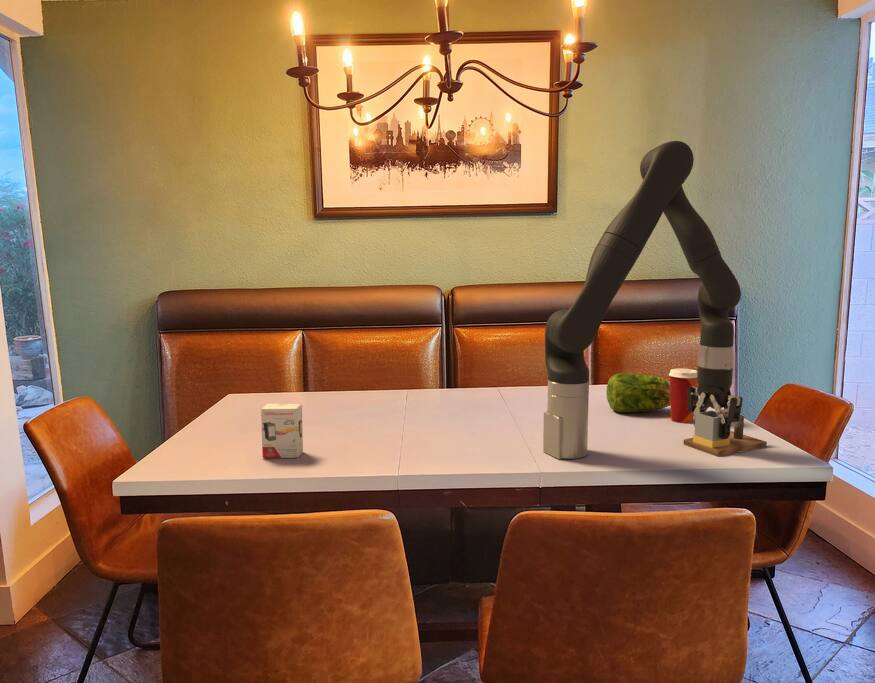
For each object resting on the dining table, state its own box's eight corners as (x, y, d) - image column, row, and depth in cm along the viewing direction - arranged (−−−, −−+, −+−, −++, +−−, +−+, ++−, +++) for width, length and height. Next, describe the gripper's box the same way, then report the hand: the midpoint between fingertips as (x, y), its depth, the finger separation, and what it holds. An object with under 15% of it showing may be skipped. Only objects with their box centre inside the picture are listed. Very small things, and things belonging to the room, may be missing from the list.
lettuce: (685, 416, 171) (687, 377, 169) (612, 417, 172) (613, 377, 170) (671, 406, 182) (673, 369, 181) (602, 406, 183) (603, 370, 181)
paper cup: (699, 424, 163) (702, 373, 161) (669, 423, 164) (671, 372, 162) (693, 417, 170) (695, 368, 168) (664, 416, 172) (666, 367, 170)
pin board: (717, 456, 137) (719, 427, 136) (683, 444, 146) (684, 417, 145) (766, 446, 144) (768, 419, 143) (730, 435, 153) (732, 409, 152)
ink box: (261, 458, 139) (258, 408, 138) (267, 451, 144) (265, 403, 143) (299, 458, 139) (297, 408, 138) (304, 451, 144) (302, 403, 143)
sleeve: (712, 447, 139) (713, 418, 138) (692, 441, 145) (694, 412, 144) (729, 444, 142) (731, 415, 141) (710, 438, 147) (711, 410, 146)
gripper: (679, 361, 145) (676, 428, 148) (730, 371, 132) (725, 445, 135) (702, 358, 148) (698, 425, 151) (754, 368, 135) (749, 440, 138)
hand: (711, 434), depth 143 cm, fingers open, 6 cm apart
